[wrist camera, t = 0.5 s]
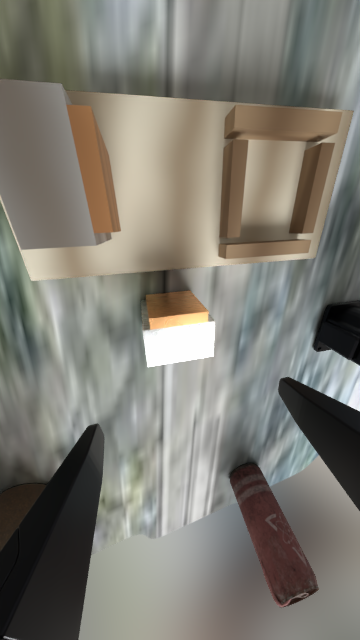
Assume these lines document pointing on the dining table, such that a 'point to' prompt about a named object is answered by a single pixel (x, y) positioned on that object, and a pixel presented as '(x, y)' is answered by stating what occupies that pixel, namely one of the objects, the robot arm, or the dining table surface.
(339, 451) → the robot arm
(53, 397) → the dining table surface
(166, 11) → the dining table surface
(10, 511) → the plant pot
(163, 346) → the white wood-topped block
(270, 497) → the brown rounded cylinder
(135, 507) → the dining table surface
